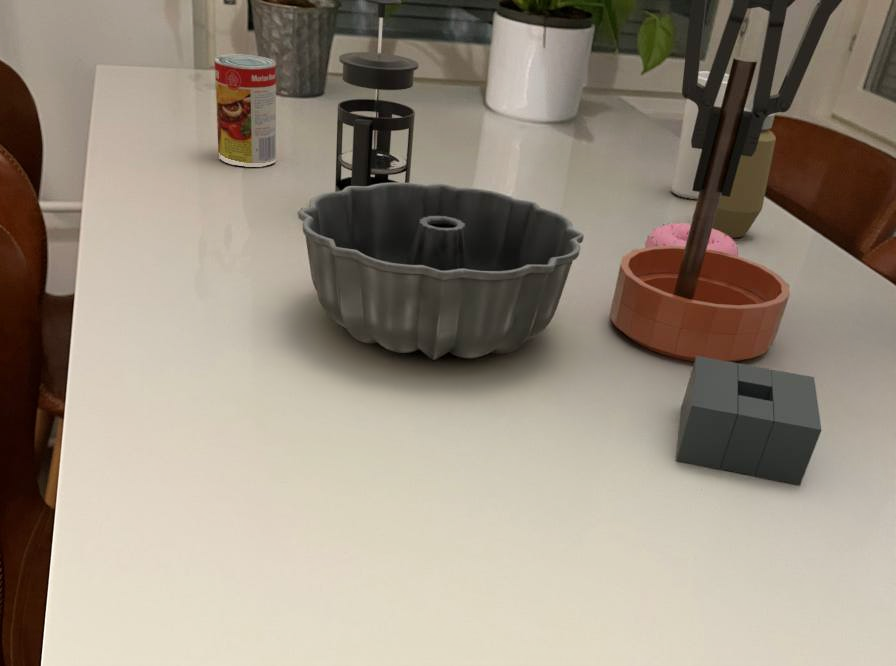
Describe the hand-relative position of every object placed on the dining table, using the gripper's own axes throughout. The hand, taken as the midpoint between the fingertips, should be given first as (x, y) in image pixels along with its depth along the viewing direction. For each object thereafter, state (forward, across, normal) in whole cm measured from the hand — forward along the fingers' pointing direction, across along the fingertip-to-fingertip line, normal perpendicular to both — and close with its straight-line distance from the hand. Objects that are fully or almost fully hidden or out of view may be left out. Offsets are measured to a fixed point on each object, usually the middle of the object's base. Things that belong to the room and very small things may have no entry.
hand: (711, 189), depth 91 cm
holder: (+14, +7, -21) cm, 26 cm away
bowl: (+14, +2, +2) cm, 15 cm away
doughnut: (+15, 0, +22) cm, 27 cm away
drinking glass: (+15, -1, +54) cm, 56 cm away
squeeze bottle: (+15, +4, +39) cm, 42 cm away
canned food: (+14, -61, +36) cm, 72 cm away
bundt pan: (+14, -23, -8) cm, 29 cm away
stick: (+11, 0, 0) cm, 11 cm away
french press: (+14, -39, +21) cm, 46 cm away
